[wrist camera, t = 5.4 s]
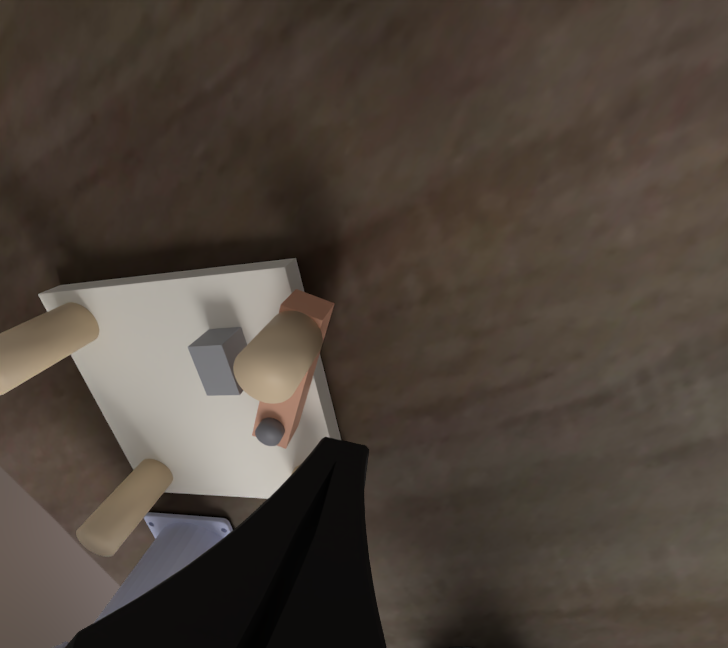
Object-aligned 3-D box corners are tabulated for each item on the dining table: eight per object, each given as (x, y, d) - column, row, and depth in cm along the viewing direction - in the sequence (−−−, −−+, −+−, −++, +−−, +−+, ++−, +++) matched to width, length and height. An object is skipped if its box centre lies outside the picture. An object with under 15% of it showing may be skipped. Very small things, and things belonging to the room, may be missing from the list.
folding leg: (303, 427, 23) (264, 501, 19) (262, 411, 24) (214, 480, 19) (340, 305, 19) (302, 362, 15) (290, 286, 19) (238, 336, 15)
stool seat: (352, 484, 27) (321, 590, 21) (158, 475, 32) (84, 561, 25) (295, 258, 21) (226, 315, 15) (59, 285, 25) (-71, 338, 19)
